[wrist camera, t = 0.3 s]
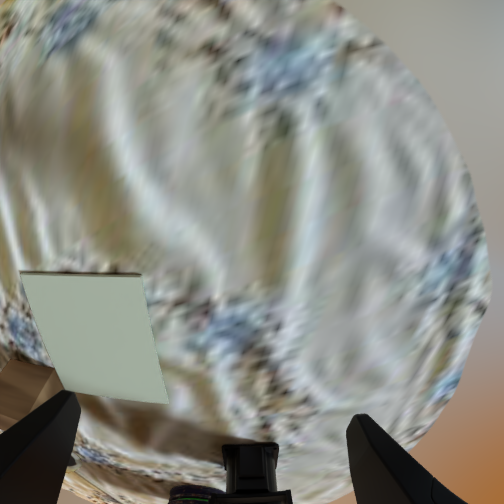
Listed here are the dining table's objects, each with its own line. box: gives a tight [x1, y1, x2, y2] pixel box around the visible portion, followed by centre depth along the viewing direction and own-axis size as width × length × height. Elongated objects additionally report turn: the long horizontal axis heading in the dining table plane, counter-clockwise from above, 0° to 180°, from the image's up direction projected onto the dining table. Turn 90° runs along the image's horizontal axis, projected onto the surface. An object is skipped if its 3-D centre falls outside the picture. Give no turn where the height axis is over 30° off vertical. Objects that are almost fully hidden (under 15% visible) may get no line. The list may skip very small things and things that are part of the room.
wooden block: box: [0, 359, 64, 431], centre depth 23 cm, size 4×7×8 cm, turn 90°
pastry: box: [66, 452, 82, 473], centre depth 32 cm, size 9×7×4 cm
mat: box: [20, 273, 169, 404], centre depth 25 cm, size 14×12×1 cm
